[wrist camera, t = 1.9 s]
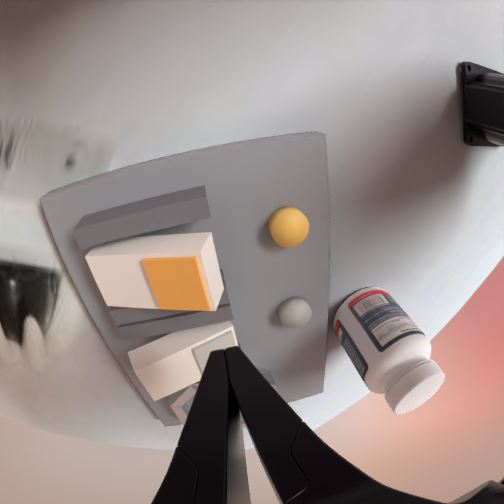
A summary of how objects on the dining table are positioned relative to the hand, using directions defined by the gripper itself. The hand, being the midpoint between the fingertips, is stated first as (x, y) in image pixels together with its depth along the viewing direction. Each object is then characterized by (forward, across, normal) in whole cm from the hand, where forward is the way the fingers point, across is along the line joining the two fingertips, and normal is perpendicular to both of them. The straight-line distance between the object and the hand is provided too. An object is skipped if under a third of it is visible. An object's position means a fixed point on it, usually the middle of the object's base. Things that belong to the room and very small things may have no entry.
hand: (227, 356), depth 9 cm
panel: (+9, +1, +6) cm, 11 cm away
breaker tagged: (+6, +3, 0) cm, 6 cm away
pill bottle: (+9, -10, +10) cm, 17 cm away
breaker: (+6, +3, +6) cm, 9 cm away
